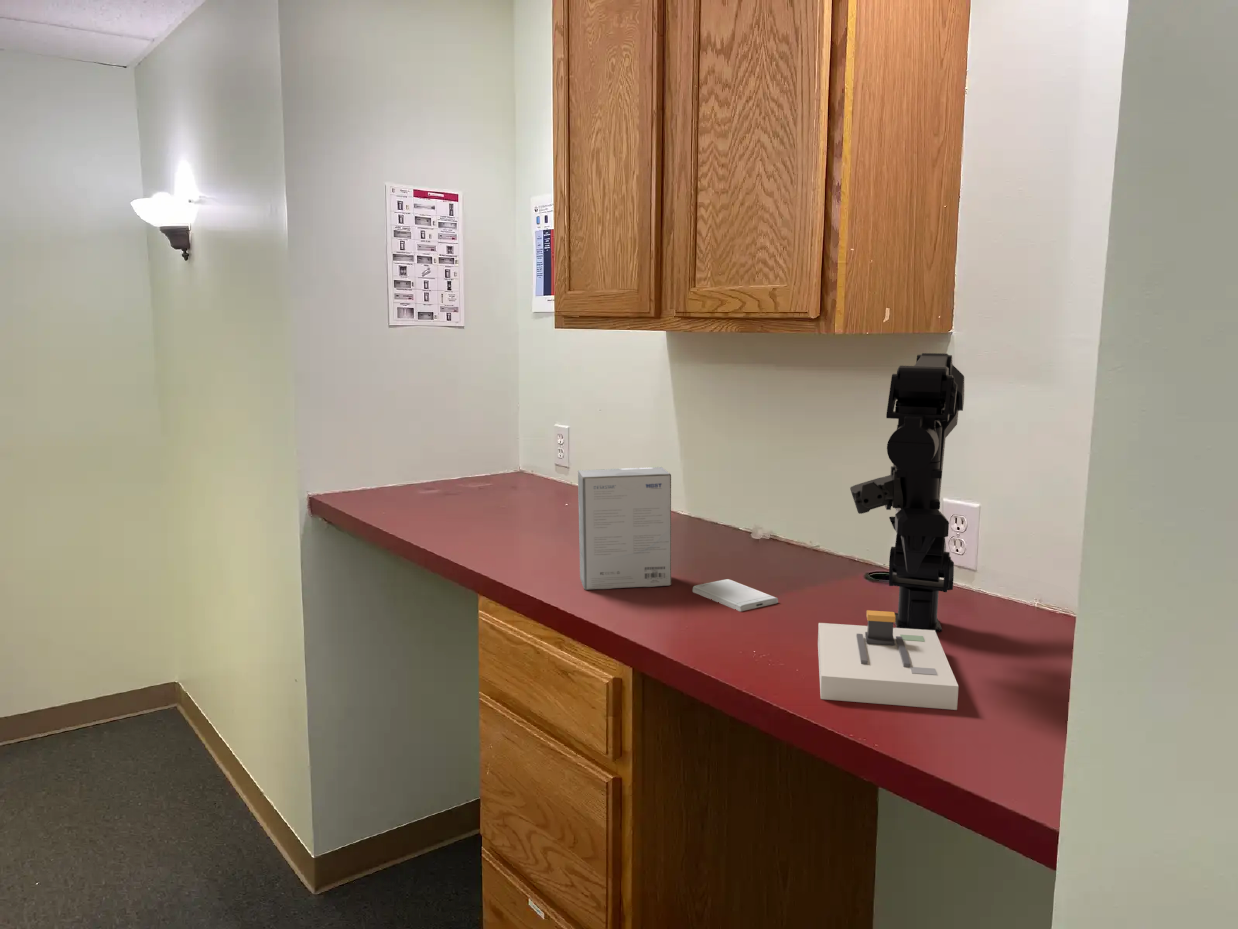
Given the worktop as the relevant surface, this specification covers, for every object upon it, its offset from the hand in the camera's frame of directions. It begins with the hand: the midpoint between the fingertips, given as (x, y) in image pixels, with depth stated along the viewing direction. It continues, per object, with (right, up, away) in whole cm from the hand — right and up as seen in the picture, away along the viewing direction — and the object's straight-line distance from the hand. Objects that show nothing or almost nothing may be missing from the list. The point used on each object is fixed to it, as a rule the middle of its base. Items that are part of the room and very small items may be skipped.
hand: (911, 572), depth 126 cm
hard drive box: (-39, -6, +37) cm, 54 cm away
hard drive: (-21, -8, +28) cm, 36 cm away
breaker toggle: (-4, -9, -1) cm, 10 cm away
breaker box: (-5, -13, -4) cm, 14 cm away
